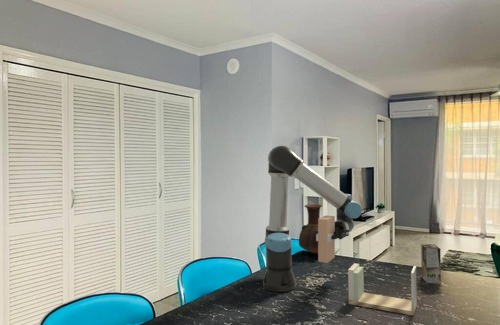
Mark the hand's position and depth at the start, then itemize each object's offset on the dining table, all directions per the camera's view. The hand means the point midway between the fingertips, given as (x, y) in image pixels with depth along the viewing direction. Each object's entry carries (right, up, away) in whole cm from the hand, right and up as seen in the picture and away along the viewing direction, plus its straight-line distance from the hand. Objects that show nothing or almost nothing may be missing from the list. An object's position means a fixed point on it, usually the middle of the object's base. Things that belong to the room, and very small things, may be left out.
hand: (322, 238), depth 151 cm
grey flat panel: (+32, -23, -12) cm, 42 cm away
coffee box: (+55, -24, +21) cm, 64 cm away
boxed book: (+3, -10, +5) cm, 11 cm away
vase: (+10, -25, +72) cm, 77 cm away
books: (+14, -23, -2) cm, 27 cm away
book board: (+22, -25, -7) cm, 34 cm away
